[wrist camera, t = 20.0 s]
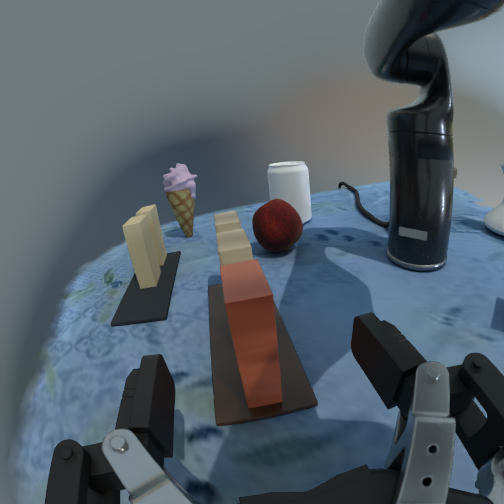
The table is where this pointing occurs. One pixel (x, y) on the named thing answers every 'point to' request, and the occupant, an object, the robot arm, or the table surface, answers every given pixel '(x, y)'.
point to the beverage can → (291, 186)
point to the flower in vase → (496, 217)
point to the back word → (147, 271)
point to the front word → (222, 350)
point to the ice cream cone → (181, 196)
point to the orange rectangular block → (253, 331)
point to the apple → (277, 225)
